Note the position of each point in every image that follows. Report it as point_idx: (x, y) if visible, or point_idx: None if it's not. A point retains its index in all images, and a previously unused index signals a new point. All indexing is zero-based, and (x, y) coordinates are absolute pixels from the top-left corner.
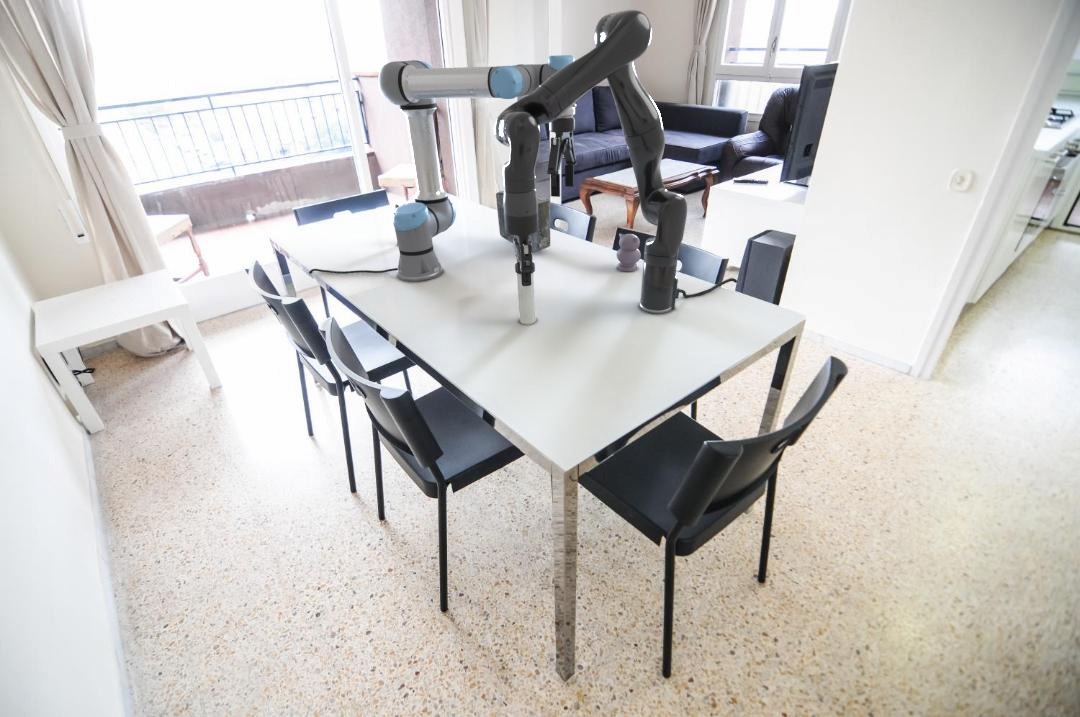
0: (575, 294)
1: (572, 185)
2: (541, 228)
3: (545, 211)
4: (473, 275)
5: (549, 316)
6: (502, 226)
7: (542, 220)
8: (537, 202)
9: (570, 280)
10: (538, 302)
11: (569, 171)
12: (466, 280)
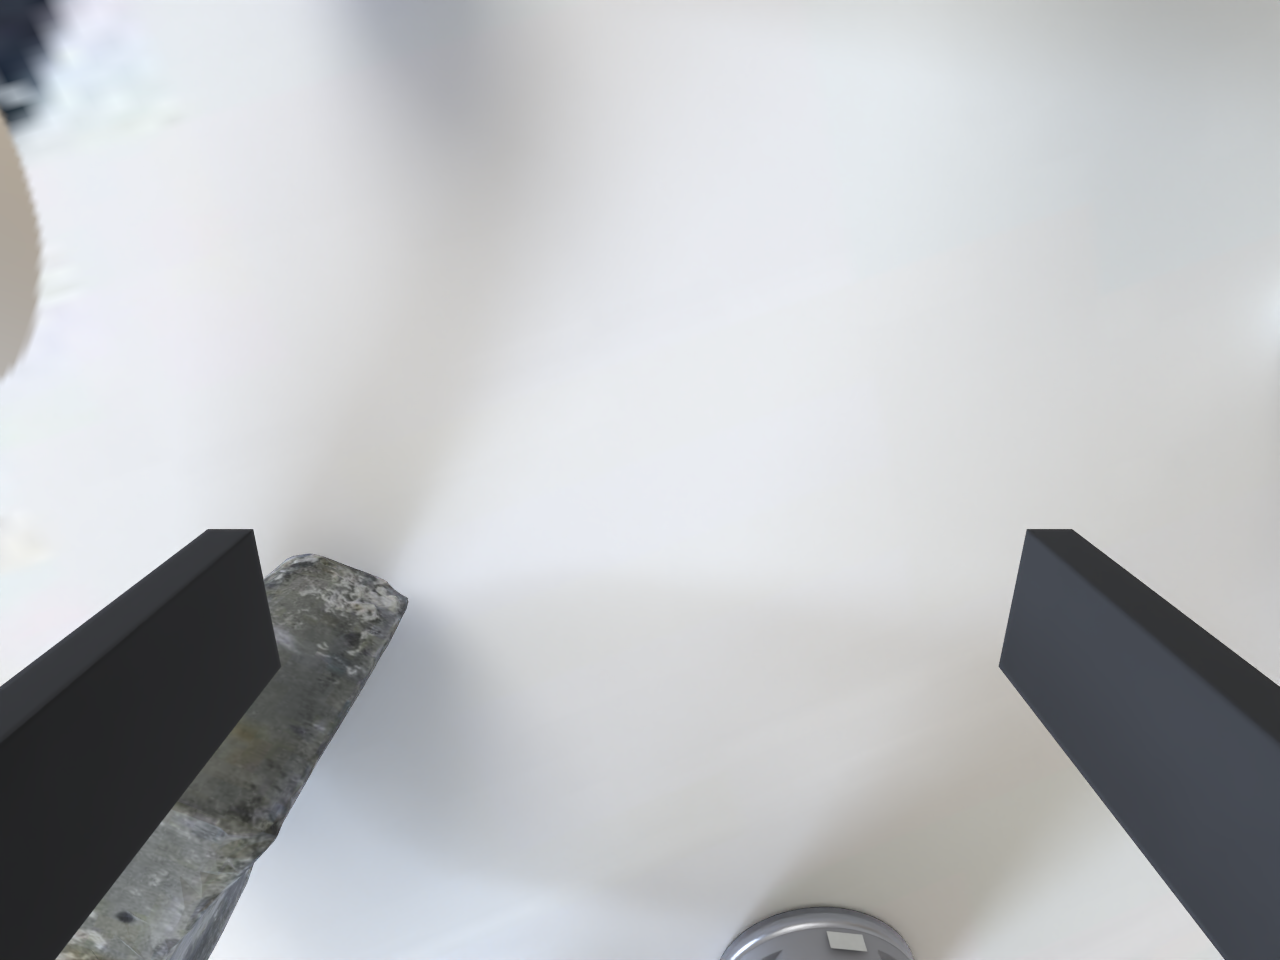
0: (936, 148)
1: (243, 550)
2: (326, 663)
3: None
4: (778, 779)
5: (1267, 204)
6: (222, 917)
7: (286, 697)
8: (215, 853)
9: (720, 255)
10: (1080, 335)
11: (65, 801)
12: (848, 781)
